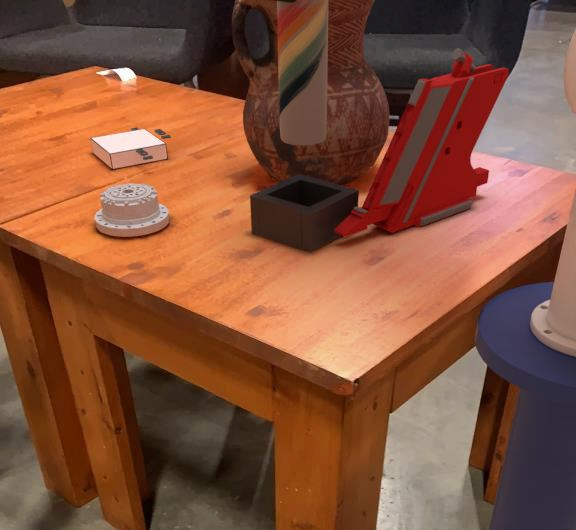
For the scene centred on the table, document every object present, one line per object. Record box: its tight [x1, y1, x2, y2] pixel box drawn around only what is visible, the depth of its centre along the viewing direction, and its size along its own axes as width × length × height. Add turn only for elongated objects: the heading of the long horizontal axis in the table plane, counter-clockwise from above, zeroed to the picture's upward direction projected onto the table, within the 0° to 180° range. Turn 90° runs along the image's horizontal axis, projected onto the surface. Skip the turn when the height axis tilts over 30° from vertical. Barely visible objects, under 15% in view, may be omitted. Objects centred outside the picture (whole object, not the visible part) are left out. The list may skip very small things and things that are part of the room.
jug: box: [231, 0, 390, 186], centre depth 109 cm, size 22×21×25 cm
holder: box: [249, 174, 360, 253], centre depth 100 cm, size 10×10×5 cm
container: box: [90, 127, 172, 171], centre depth 125 cm, size 20×12×3 cm, turn 29°
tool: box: [334, 47, 510, 238], centre depth 100 cm, size 24×5×25 cm, turn 133°
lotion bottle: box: [277, 0, 328, 145], centre depth 87 cm, size 6×6×20 cm
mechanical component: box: [93, 182, 170, 238], centre depth 103 cm, size 10×4×10 cm
